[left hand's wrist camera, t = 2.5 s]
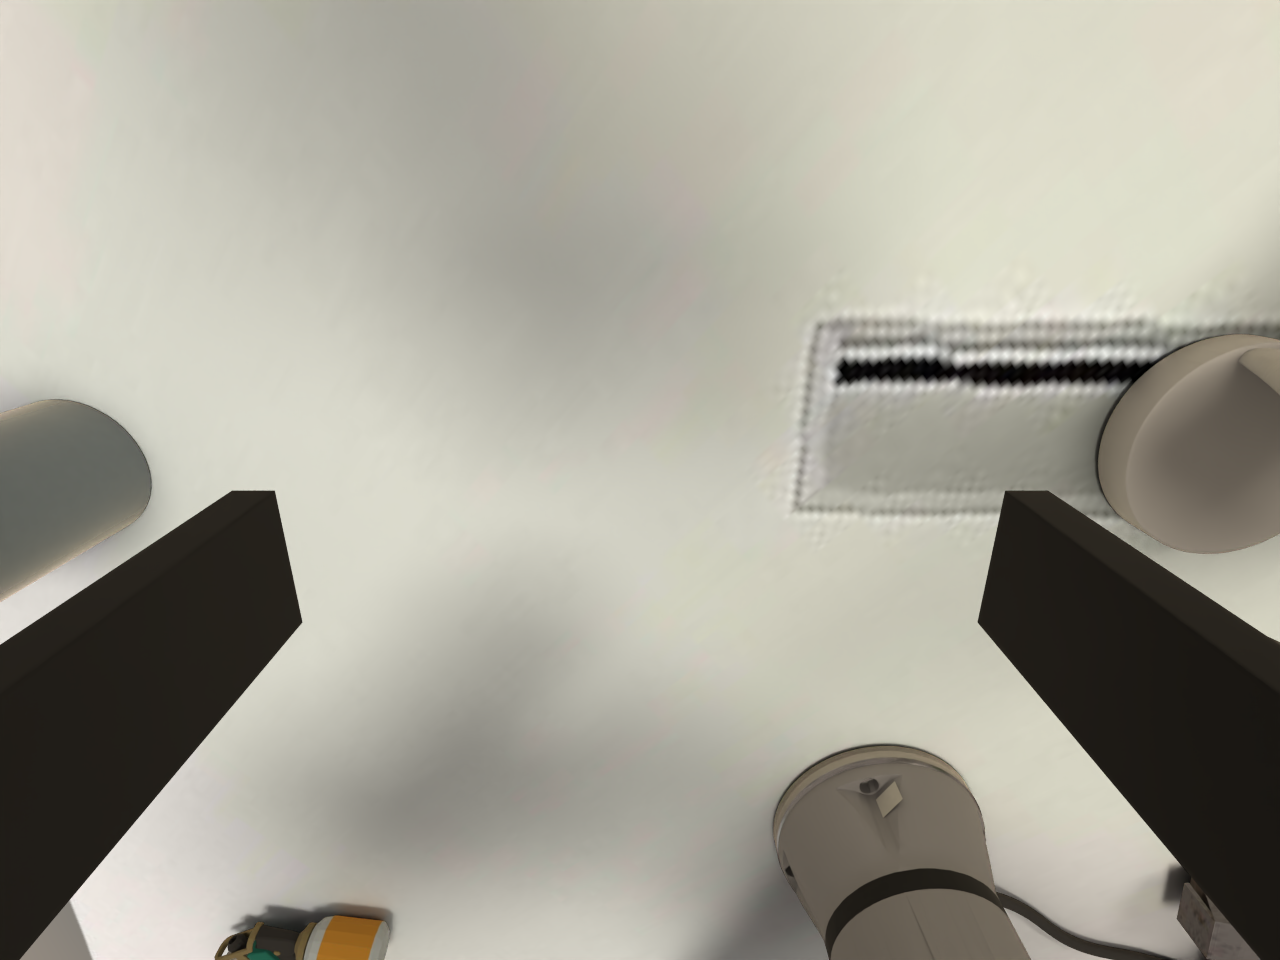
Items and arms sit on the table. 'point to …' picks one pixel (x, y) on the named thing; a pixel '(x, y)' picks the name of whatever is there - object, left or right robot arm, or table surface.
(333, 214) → the table surface
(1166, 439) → the bust sculpture
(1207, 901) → the toy
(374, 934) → the spray gun
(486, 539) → the table surface
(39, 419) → the jar
